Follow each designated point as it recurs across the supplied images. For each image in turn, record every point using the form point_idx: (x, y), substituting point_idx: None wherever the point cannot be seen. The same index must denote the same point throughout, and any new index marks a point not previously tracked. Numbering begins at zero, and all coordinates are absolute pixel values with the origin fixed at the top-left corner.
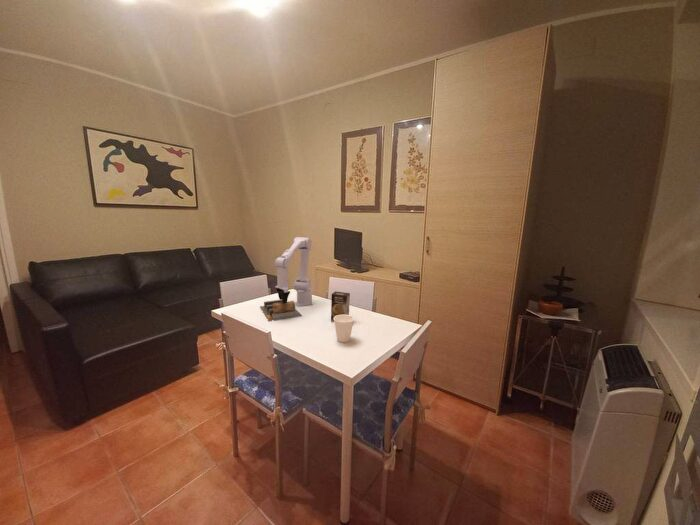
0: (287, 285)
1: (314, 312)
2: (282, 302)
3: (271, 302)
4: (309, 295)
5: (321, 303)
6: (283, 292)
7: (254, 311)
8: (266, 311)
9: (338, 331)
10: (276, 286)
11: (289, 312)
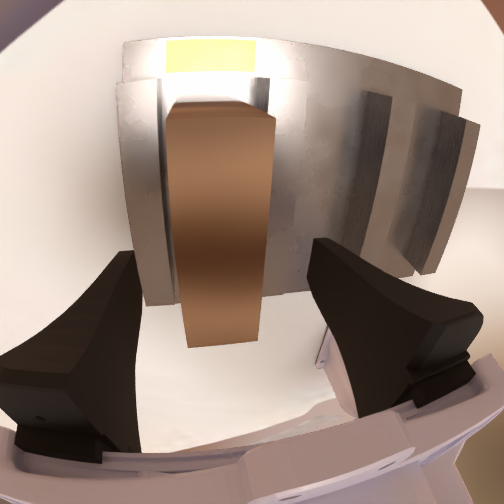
0: None
1: (192, 362)
2: (256, 246)
3: (452, 169)
4: (344, 398)
5: (303, 391)
6: (11, 416)
7: (410, 19)
8: (357, 79)
9: None
10: (337, 484)
11: (135, 247)
